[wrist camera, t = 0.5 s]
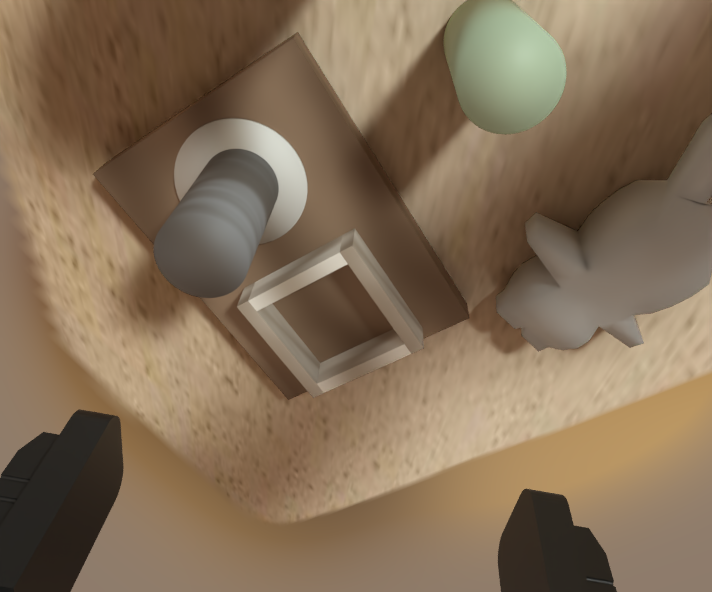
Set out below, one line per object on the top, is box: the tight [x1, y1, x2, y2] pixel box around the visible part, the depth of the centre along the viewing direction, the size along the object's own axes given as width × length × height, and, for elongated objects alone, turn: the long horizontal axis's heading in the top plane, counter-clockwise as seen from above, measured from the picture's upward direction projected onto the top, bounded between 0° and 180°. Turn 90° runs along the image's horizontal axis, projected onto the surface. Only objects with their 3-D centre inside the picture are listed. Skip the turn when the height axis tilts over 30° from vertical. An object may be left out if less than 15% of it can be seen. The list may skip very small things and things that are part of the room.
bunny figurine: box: [496, 114, 712, 352], centre depth 33 cm, size 10×5×15 cm
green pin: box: [443, 0, 566, 134], centre depth 27 cm, size 4×4×8 cm
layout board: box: [93, 32, 469, 400], centre depth 32 cm, size 13×18×10 cm
